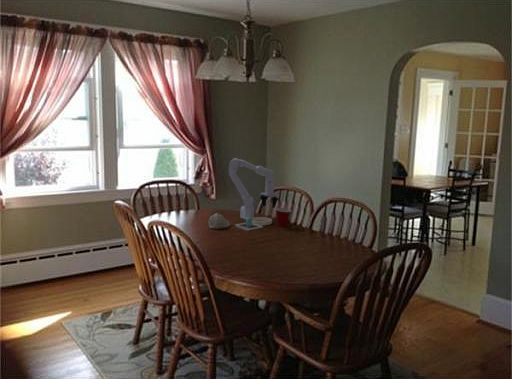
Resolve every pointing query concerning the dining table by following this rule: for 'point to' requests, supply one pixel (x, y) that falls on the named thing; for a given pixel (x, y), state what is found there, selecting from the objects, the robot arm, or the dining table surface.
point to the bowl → (261, 220)
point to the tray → (247, 228)
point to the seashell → (218, 221)
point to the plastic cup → (282, 216)
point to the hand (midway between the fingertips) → (269, 206)
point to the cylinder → (249, 222)
